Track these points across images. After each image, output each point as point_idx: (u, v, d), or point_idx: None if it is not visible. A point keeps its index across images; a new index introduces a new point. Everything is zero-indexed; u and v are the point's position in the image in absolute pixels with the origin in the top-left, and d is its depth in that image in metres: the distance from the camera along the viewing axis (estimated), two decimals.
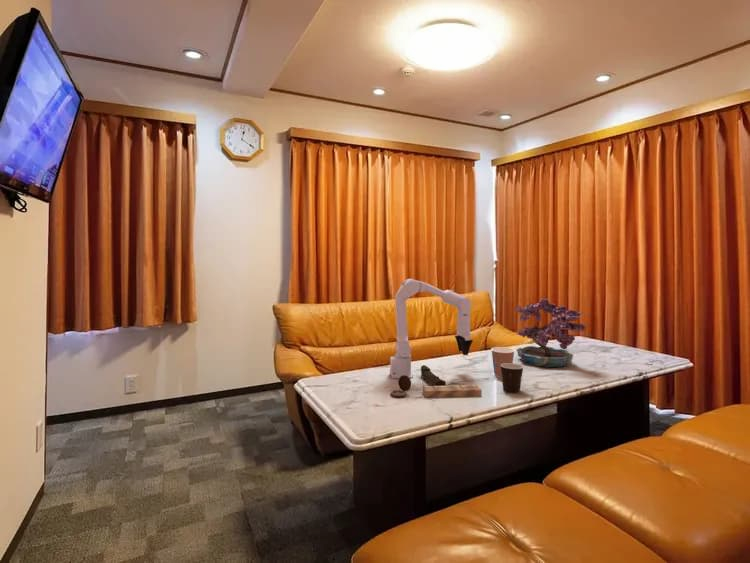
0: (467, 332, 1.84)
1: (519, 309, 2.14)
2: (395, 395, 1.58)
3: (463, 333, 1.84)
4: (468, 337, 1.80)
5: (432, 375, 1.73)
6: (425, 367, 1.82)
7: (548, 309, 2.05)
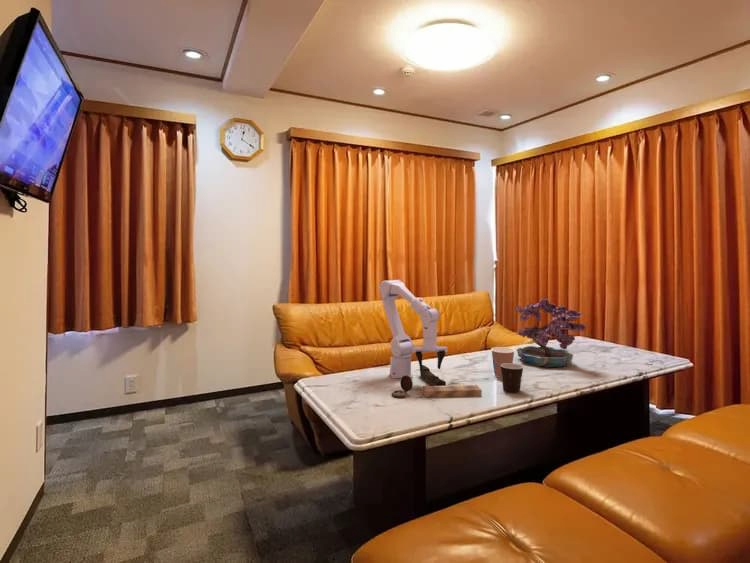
0: (424, 346, 1.73)
1: (519, 309, 2.14)
2: (396, 395, 1.58)
3: (423, 346, 1.75)
4: (413, 349, 1.73)
5: (432, 375, 1.73)
6: (424, 367, 1.82)
7: (548, 309, 2.05)
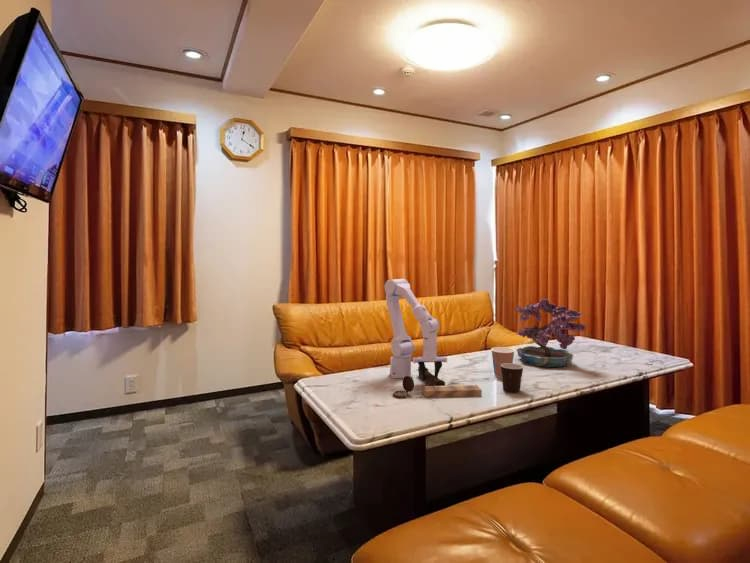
0: (424, 356, 1.73)
1: (519, 309, 2.14)
2: (396, 395, 1.58)
3: (423, 356, 1.75)
4: (413, 359, 1.74)
5: (430, 375, 1.73)
6: None
7: (548, 309, 2.05)
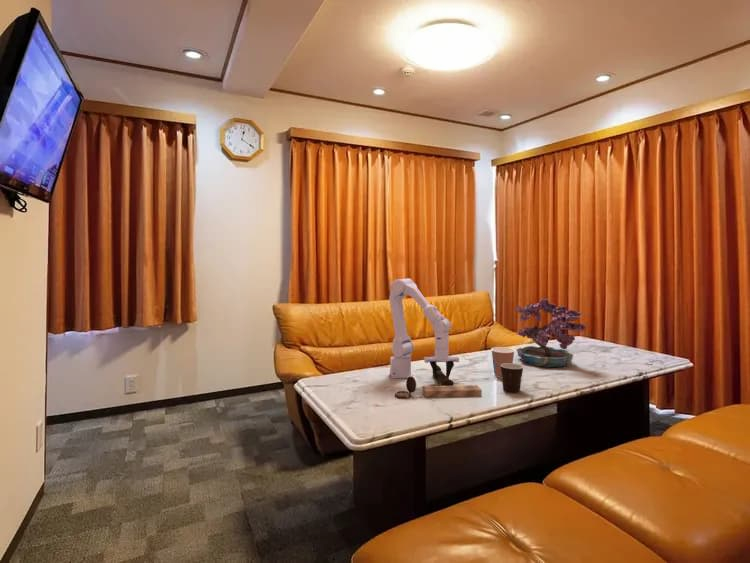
0: (436, 356, 1.73)
1: (519, 309, 2.14)
2: (397, 395, 1.58)
3: (434, 356, 1.75)
4: (424, 359, 1.74)
5: (441, 374, 1.73)
6: None
7: (548, 309, 2.05)
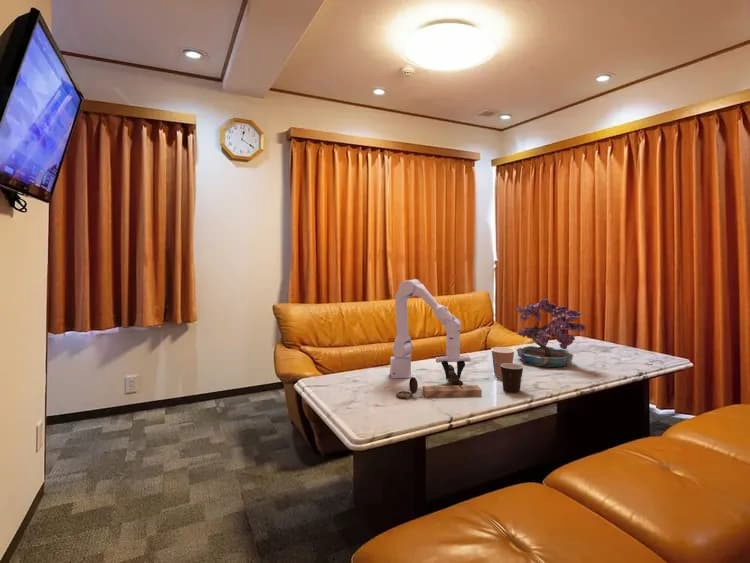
0: (447, 356, 1.74)
1: (519, 309, 2.14)
2: (398, 395, 1.58)
3: (446, 356, 1.76)
4: (436, 359, 1.74)
5: (453, 374, 1.73)
6: (450, 366, 1.82)
7: (548, 309, 2.05)
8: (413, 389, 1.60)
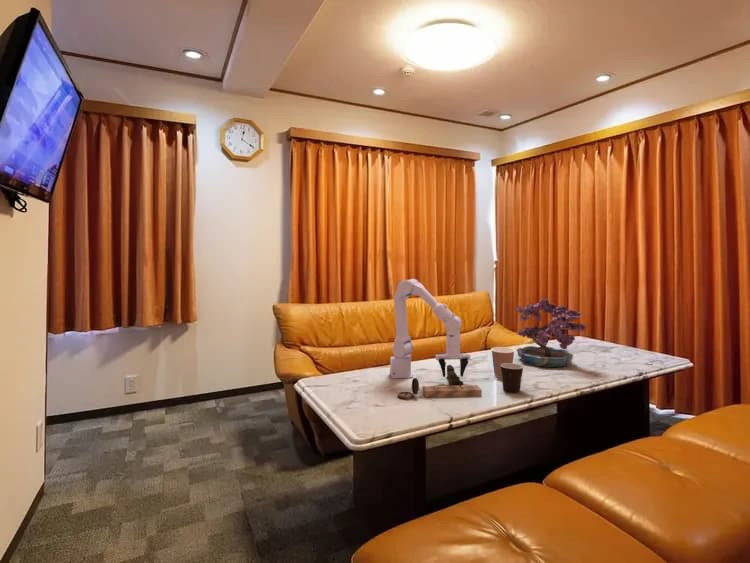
0: (447, 354, 1.74)
1: (519, 309, 2.14)
2: (399, 396, 1.57)
3: (446, 353, 1.76)
4: (436, 356, 1.74)
5: (453, 375, 1.73)
6: (450, 367, 1.82)
7: (548, 309, 2.05)
8: (415, 390, 1.59)
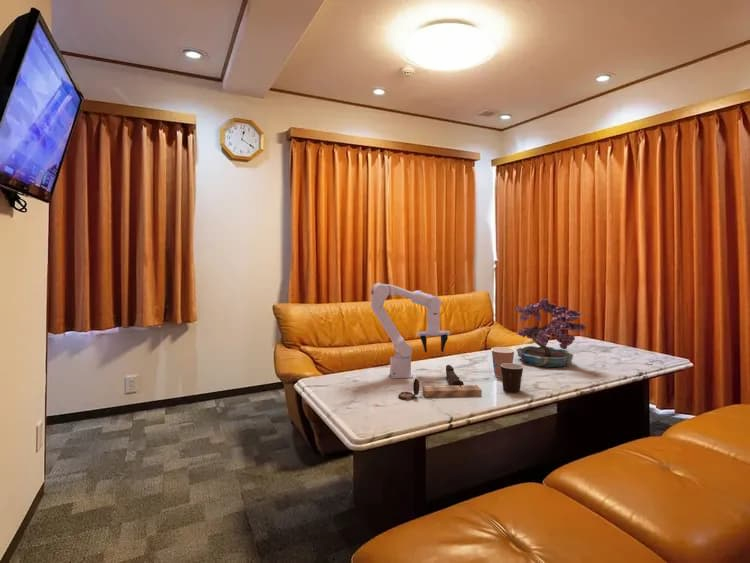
0: (428, 330, 1.87)
1: (519, 309, 2.14)
2: (400, 396, 1.57)
3: (427, 331, 1.89)
4: (418, 333, 1.87)
5: (453, 375, 1.73)
6: (449, 367, 1.82)
7: (548, 309, 2.05)
8: (416, 390, 1.59)
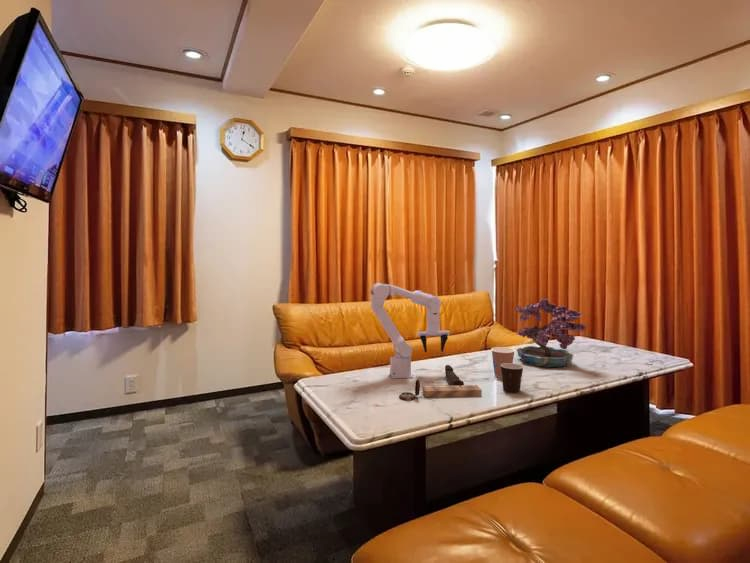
0: (428, 330, 1.87)
1: (519, 309, 2.14)
2: (400, 396, 1.57)
3: (427, 331, 1.89)
4: (417, 333, 1.87)
5: (453, 375, 1.74)
6: (448, 367, 1.82)
7: (548, 309, 2.05)
8: (417, 391, 1.58)
